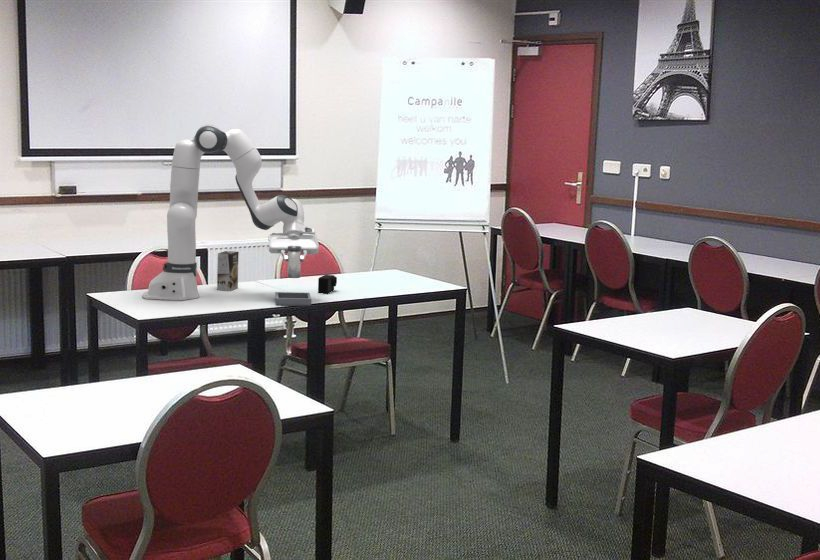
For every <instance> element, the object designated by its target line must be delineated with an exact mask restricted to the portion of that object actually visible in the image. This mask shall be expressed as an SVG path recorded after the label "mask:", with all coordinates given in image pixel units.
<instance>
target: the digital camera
mask: <svg viewBox="0 0 820 560" xmlns="http://www.w3.org/2000/svg"><path fill="white" fill-rule="evenodd" d="M317 280H318V281H317V285H318V288H317V294H318V293H323V294H322V295H329V294H330V292H331V291H332V292H334V291H335V287H337V282H338V277H337V276H335V274H334V275H333V274H324V275H322V276H320V277H318V279H317ZM333 290H334V291H333ZM332 292H331V293H332ZM328 293H329V294H328Z"/></svg>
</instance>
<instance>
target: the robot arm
mask: <svg viewBox="0 0 820 560" xmlns="http://www.w3.org/2000/svg"><path fill="white" fill-rule="evenodd" d="M219 151H224V152H225V154H227V156H228V158H229V159H230V160H231V162H232V164H233V165H234V168H235V172H236V174H235V183H236V185H237V188H238V189H239V192H240V193H241V196H242V197H243V201H244V202H245V204H246V207H247V209H248V211H249V215H250V217H251V221H252V223H253V225H254V226H255V227H256V228H258V229H260V230H264V231H267V230H270V229H271V228H272V227H275V225H277V224H279V223H280V222H282V223H283V225H282V232H280V233H278V232H277V233H276V232H273V233H270V234H268V239H267V240H268V242H269V245H268V246H269V247H268V252H269V253H270V254H280V255H281V257H282V258H283V262H288V246H301V262H305V259H306V257H307V255H317V254H318V253H319V250H320V244H319V239H318V237H317V235H316V229H315V228H312V227H308V226H305V225H304V222H305V212H304V207H303V204H302V202H301V201H300V200H298V199H296V198H290V197H289V196H287V195H284V194H278V195H277V196H275V197H273V198H271V199H270V200H268V201H266V202H264V203H263V204H261V203H260V201H259V198H258V196H257V194H256V192H255V190H254V187H253V181H254V179H255V177H256V176H257V174H258V173H259V171H260V169H261V167H262V156H261V154H260V152H259V151H258V149H257V147H256V146H255V144H254V143H253V142H252V140H251V139H250V138H249V136H248V135H246V133H245V132H244V131H243V130H242V129H241V128H231V129H228V130H227V131H223V130H221V129H220V128H219V127H217V126H215V125H213V124H205V125H203V126H202V125H201V126H200V127H199V128H198V129H197V131H196V133H195V134H194V137H193V138H191V139H186V138H184V139H181V140H179V141H177V143H176V144H175V146H174V150H173V156H172V160H171V161H172V162H171V171H170V182H169V183H170V184H169V186H170V187H169V188H170V189H169V208H168V210H167V213H166V224H167V225H166V228H167V229H166V233H167V261H163V263H162V272H160V273H159V274H157V275H156V276H155V277H154V278H152V279H151V280H150V282H149V284H148V289H147V291H144V292H143V293H142V298H143V299H146V300H161V301H162V300H163V301H164V300H165V301H185V300H192V299H197V298H199V297H200V293H199V289H198V283H197V275H198V265H197V262H196V261H197V260H196V259H197V258H196V257H197V256H196V255H197V251H196V249H197V245H196V244H197V243H196V242H197V241H196V240H197V236H196V219H197V215H198V199H199V198H198V197H199V184H200V171H201V170H200V169H201V159H202V156H203V155H204V154H205V153H206V154H212V153H217V152H219ZM286 254H287V255H286Z"/></svg>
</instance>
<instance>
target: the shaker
mask: <svg viewBox="0 0 820 560" xmlns="http://www.w3.org/2000/svg"><path fill="white" fill-rule="evenodd" d="M287 256H288V261H287V273H286V275H287V278H289V279H300V278H301V268H302V267H301V265H302V264H301V256H302V254H301V246H288V254H287Z"/></svg>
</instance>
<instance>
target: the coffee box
mask: <svg viewBox="0 0 820 560" xmlns="http://www.w3.org/2000/svg"><path fill="white" fill-rule="evenodd" d="M239 255H240V254H239V251H226V250H225V251H221V252H218V253H217V268H216V269H217V272H216V273H217V275H216V278H217V279H216V280H217V282H216V283H217V284H216V290H217V289H218V290H217V291H224V290H226V291H225V292H231V291H233V289H234V290H236V289H238V288H239Z"/></svg>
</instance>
